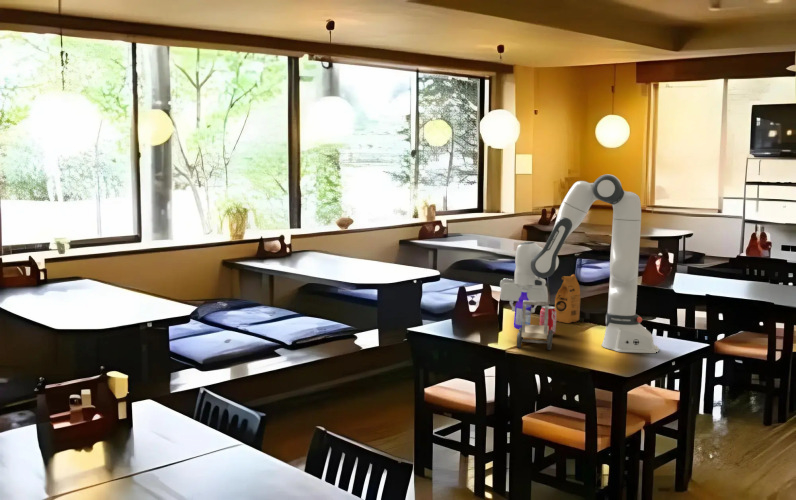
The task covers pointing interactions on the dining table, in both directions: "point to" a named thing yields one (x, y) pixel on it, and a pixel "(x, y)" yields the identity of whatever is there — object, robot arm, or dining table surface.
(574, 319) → the coffee package
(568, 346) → the dining table surface
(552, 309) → the soda can
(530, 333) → the trolley
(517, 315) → the bottle
